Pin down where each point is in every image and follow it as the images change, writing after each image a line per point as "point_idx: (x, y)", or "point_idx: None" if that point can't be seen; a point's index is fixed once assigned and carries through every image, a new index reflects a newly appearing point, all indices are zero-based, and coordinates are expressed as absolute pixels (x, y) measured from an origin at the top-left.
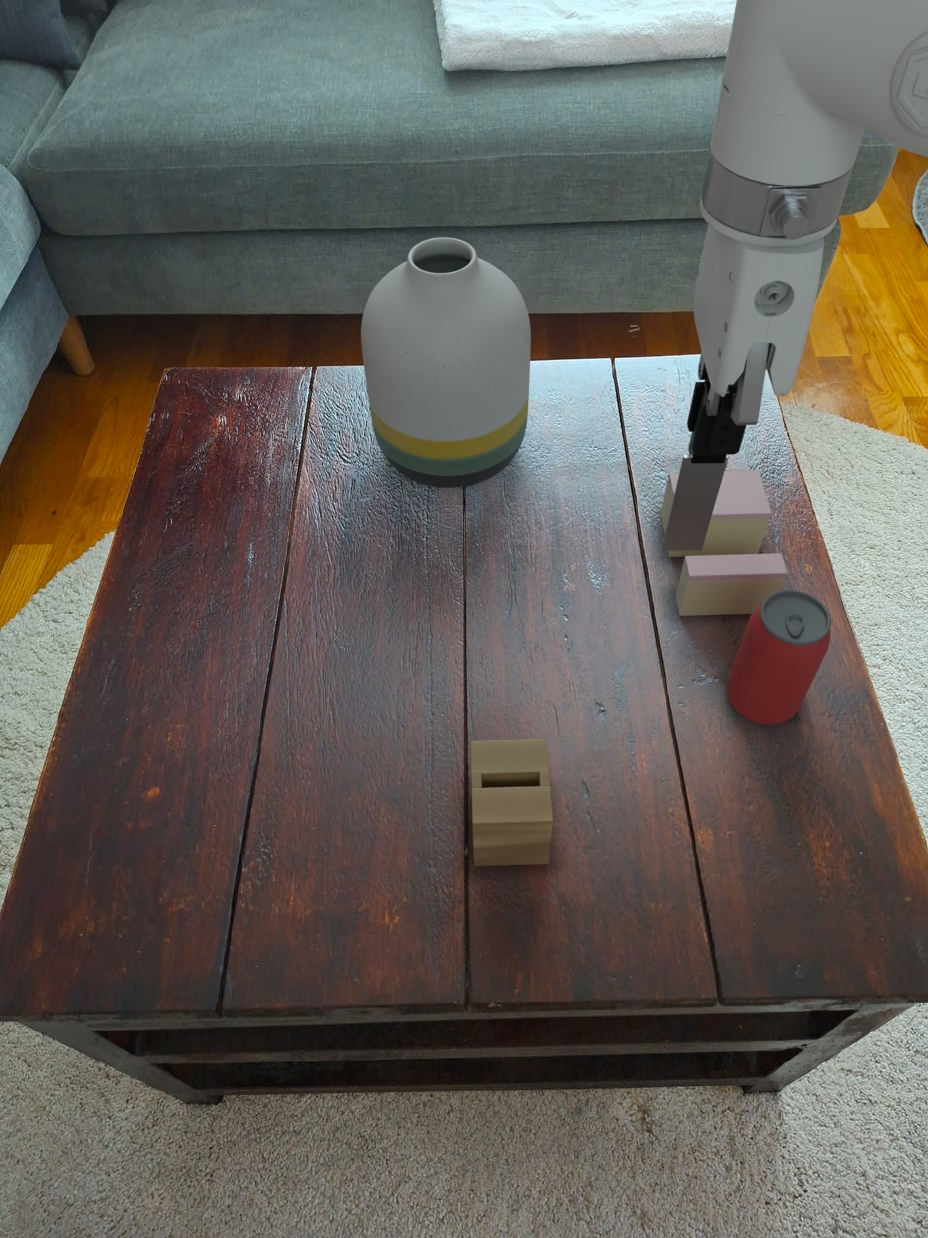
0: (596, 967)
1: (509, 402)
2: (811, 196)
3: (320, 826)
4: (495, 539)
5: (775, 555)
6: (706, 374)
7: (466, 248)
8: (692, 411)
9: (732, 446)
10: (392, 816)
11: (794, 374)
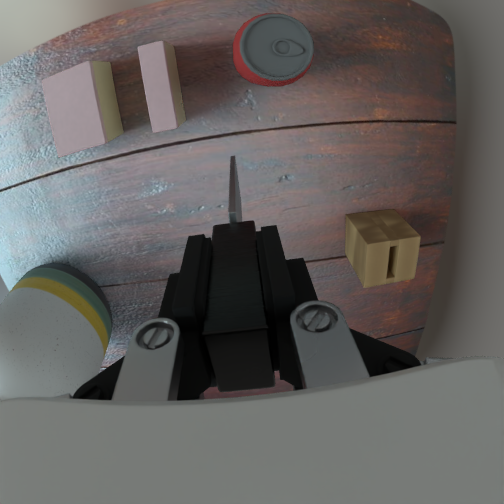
0: (442, 183)
1: (54, 312)
2: None
3: (359, 317)
4: (137, 263)
5: (140, 51)
6: (202, 397)
7: None
8: None
9: (303, 260)
10: (358, 289)
11: None
